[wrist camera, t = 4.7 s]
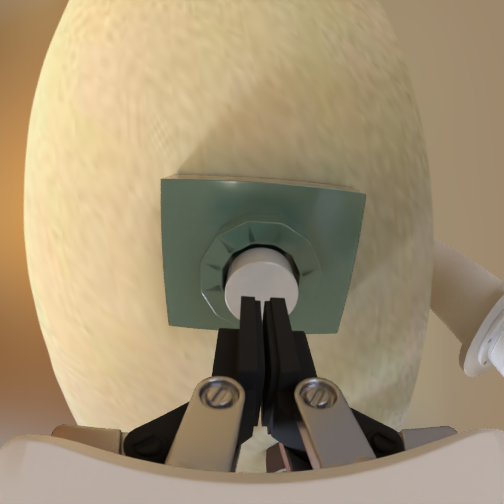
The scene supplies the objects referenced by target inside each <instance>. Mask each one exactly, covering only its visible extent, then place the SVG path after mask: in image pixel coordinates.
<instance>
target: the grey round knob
mask: <svg viewBox="0 0 504 504" xmlns="http://www.w3.org/2000/svg"><path fill="white" fill-rule="evenodd" d="M298 295H299V290H298V284H297V281H296V278H295V275H294V272H293V270H292V267H291V265H290V263H289V261H288V260H287V259H286V258H285V257H284V256H283V255H282V254H281V253H279V252H277V251H275V250H273V249H269V248H253V249H249V250H247V251H245V252H243V253H241V254H240V255H238V256H237V257H236V258H235V259H234V261H233V262H232V264H231V265H230V268H229V271H228V275H227V281H226V286H225V301H226V304H227V307H228V308H229V310H230V311H231V313H232V314H233V315H234V316H235V317H236V318H238V319H239V320H240V306H241V296H252V297H255V300H259V301H261V314H262V320H263V310H264V301H270V297H275V298H285V302H286V306H287V310H288V315H289V314H290V313H291V312H292V311H293V309H294V307H295V306H296V303H297V301H298Z"/></svg>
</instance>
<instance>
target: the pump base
mask: <svg viewBox="0 0 504 504" xmlns="http://www.w3.org/2000/svg"><path fill="white" fill-rule="evenodd" d="M365 199H366V193H364V192H361V191H359V190H356V189H354V188H351V187H347V186H340V185H332V184H324V183H315V182H305V181H295V180H284V179H272V178H258V177H241V176H219V175H172V176H169V177H166V178H162V179H161V231H162V253H163V269H164V282H165V294H166V304H167V313H168V322H169V326H177V327H187V328H197V329H209V330H219V328H232V329H239V326H240V320H239V319H238V318H236V317H235V316H234V315H233V314H232V313H231V311H230V310H229V308H228V307H227V304H226V301H225V286H226V281H227V275H228V271H229V268H230V265H231V264H232V262H233V261H234V259H235V258H236V257H237V256H238V255H240V254H241V253H243V252H245V251H247V250H249V249H253V248H269V249H273V250H275V251H277V252H279V253H281V254H282V255H283V256H284V257H285V258H286V259H287V260H288V261H289V263H290V265H291V267H292V270H293V272H294V275H295V278H296V281H297V284H298V290H299V295H298V301H297V303H296V306H295V307H294V309H293V311H292V312H291V313H290V314H289V319H290V324H291V328H292V331H304V332H305V334H335V333H337V332H338V328H339V325H340V321H341V317H342V313H343V310H344V306H345V302H346V298H347V293H348V289H349V285H350V281H351V276H352V272H353V267H354V262H355V257H356V252H357V247H358V242H359V236H360V231H361V225H362V219H363V212H364V206H365Z"/></svg>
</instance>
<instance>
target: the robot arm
mask: <svg viewBox="0 0 504 504" xmlns="http://www.w3.org/2000/svg"><path fill="white" fill-rule="evenodd" d="M478 361H479V363H480V364H481V365H482V366H483V367H489V366H492V365H494V366H495V367H496V368H497V370H498V371H499V372H500V373H501V374H502V376H503V377H504V309H503V310H502V311H501V312H500V314H499V315H498V316H497V318H496V319H495V320H494V322H493V323H492V325H491V326H490V328H489V330H488V331H487V333H486V335H485V337H484V339H483V341H482V343H481V346H480V349H479V353H478ZM260 406H261V422H262V426H267V430H268V434H271V436H272V437H273V438H275V439H276V440H278V441H279V445H280V450H281V454H282V457H283V461H284V464H285V468H286V471H287V472H280V473H235V472H236V468H237V463H238V459H239V454H240V449H241V444H242V443H244V442H245V441H246V440H248V439H249V438H250V437H252V434H253V427H254V426H257V425H258V419H259V413H260ZM0 504H504V432H503V431H501V430H497V429H474V430H468V431H464V432H460V433H458V432H457V431H456V430H454V428H451V427H449V426H440V427H430V428H419V429H402V430H401V431H400V432H397V431H395V430H394V429H392V428H390V427H388V426H386V425H384V424H382V423H380V422H378V421H376V420H374V419H372V418H370V417H368V416H366V415H364V414H362V413H360V412H358V411H356V410H354V409H352V408H350V407H349V405H348V403H347V401H346V399H345V398H344V396H343V394H342V392H341V390H340V389H339V387H338V386H337V385H336V384H335V383H333V382H332V381H330V380H327V379H325V378H319V377H317V375H316V371H315V367H314V363H313V360H312V356H311V353H310V349H309V345H308V342H307V338H306V335H305V332H304V331H292V328H291V324H290V319H289V315H288V310H287V306H286V302H285V298H275V297H270V301H264V310H263V320H262V314H261V301H259V300H255V297H252V296H241V306H240V326H239V329H232V328H219V331H218V338H217V344H216V351H215V358H214V365H213V372H212V377H209V378H206V379H204V380H202V381H201V382H200V383H198V385H197V386H196V388H195V390H194V392H193V395H192V397H191V399H190V401H189V402H188V403H186V404H184V405H182V406H180V407H178V408H176V409H174V410H172V411H171V412H169V413H167V414H165V415H163V416H161V417H159V418H157V419H155V420H153V421H151V422H148V423H146V424H144V425H142V426H140V427H138V428H136V429H134V430H132V431H131V432H129V433H124V432H121V430H118V429H105V428H94V427H85V426H78V425H71V424H63V425H60V426H58V427H56V428H55V429H54V431H53V432H52V434H51V436H46V435H22V436H17V437H14V438H12V439H10V440H9V441H8V442H6V443H5V444H4V446H3V447H2V448H1V449H0Z"/></svg>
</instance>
